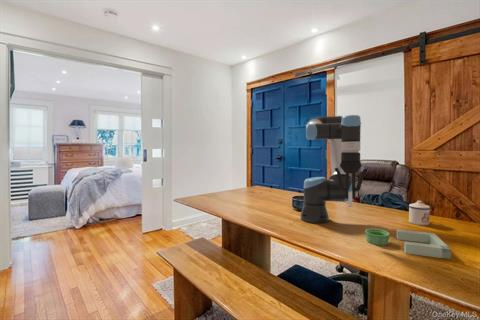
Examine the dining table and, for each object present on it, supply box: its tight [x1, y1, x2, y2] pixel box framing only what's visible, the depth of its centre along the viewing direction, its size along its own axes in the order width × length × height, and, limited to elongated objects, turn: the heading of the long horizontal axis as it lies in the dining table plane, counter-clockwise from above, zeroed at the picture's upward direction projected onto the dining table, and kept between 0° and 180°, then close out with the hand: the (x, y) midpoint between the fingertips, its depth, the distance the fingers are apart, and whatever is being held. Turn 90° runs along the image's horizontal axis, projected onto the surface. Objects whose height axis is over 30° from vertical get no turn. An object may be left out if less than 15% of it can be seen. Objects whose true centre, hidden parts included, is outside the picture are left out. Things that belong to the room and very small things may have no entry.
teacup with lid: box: [408, 200, 431, 226], centre depth 131 cm, size 12×9×12 cm
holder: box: [396, 229, 452, 260], centre depth 99 cm, size 14×18×4 cm
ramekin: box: [364, 228, 391, 247], centre depth 105 cm, size 9×9×4 cm
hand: (350, 206), depth 108 cm, fingers closed
